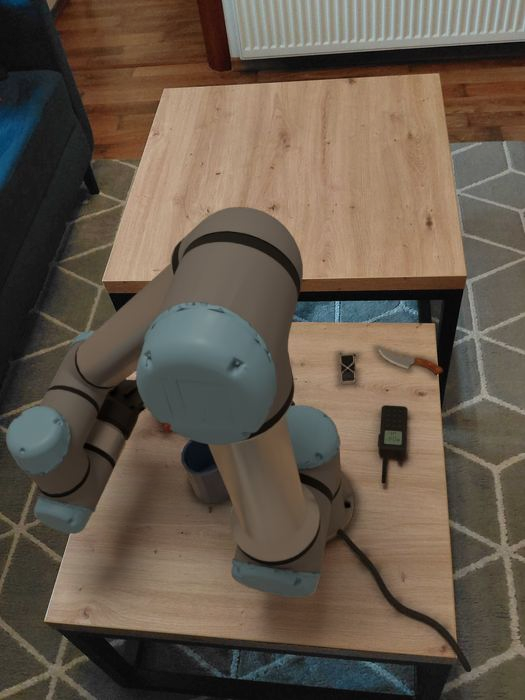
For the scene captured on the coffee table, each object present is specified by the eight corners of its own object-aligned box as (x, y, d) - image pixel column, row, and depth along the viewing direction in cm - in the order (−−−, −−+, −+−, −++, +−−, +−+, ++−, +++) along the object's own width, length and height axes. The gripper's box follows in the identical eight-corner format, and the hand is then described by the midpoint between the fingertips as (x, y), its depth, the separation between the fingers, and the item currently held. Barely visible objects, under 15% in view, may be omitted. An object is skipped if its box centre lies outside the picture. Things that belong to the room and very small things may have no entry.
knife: (373, 358, 127) (378, 347, 129) (373, 360, 128) (378, 349, 129) (440, 376, 122) (445, 364, 124) (440, 378, 123) (445, 366, 124)
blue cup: (244, 489, 113) (235, 460, 105) (204, 511, 111) (192, 483, 104) (225, 456, 118) (215, 426, 110) (186, 476, 116) (173, 447, 108)
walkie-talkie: (407, 406, 116) (405, 479, 106) (407, 417, 118) (404, 490, 109) (380, 404, 117) (375, 477, 107) (380, 415, 119) (375, 487, 110)
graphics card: (340, 352, 129) (355, 351, 128) (340, 354, 129) (355, 353, 129) (341, 381, 124) (357, 380, 124) (341, 384, 125) (357, 383, 124)
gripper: (54, 432, 104) (114, 326, 117) (172, 457, 98) (221, 342, 111) (36, 405, 98) (101, 297, 111) (160, 430, 92) (213, 313, 105)
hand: (161, 320), depth 111 cm, fingers closed on red cup, 8 cm apart
